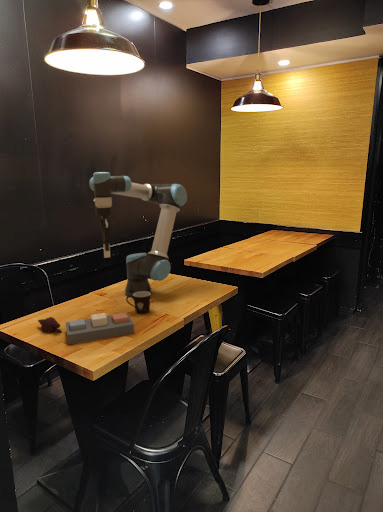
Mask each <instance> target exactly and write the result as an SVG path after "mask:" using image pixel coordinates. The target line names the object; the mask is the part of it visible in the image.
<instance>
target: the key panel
mask: <svg viewBox="0 0 383 512" xmlns="http://www.w3.org/2000/svg"><path fill="white" fill-rule="evenodd" d="M125 313H126V314H127V316H128V322H123V323H117V324H114V323H113V321H112V314H111V315H106V317H107V325H104V326H98V327H92V324H91V317H90V318H83V319H84V321H85V327H86V329H80V330H73V331H70V323H69V321H65V331H66V337H67V339H66V340H67V345H73V344H79V343H86V342H90V341H97V340H102V339H108V338H114V337H120V336H124V335H130V334H135V324H134V322H133V320H132V318H131V317H130V315H129V314H128V312H125Z"/></svg>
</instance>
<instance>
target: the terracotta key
mask: <svg viewBox="0 0 383 512" xmlns="http://www.w3.org/2000/svg"><path fill="white" fill-rule="evenodd" d="M126 313H127V312H120V313H113V314H111V315H112V321H113V323H114V324H117V323H123V322H128V316H127V314H128V313H127V314H126Z"/></svg>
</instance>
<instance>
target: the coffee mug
mask: <svg viewBox="0 0 383 512" xmlns="http://www.w3.org/2000/svg"><path fill="white" fill-rule="evenodd" d="M151 295H152V293H150V292H146V291H141V292H136V293H134V294H133V297H132V296H127V297H126V301H125V302H127V303H128V305H130V306H131V307H133V308H134V309H135V312H136V314H138V315H144V314H145V315H146V314H148V313H150V309H151V298H152V297H151ZM129 298H132V299H133V302H134V303H133V304H134V305H133V304H132V303H131V302H129V300H128V299H129Z"/></svg>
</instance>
